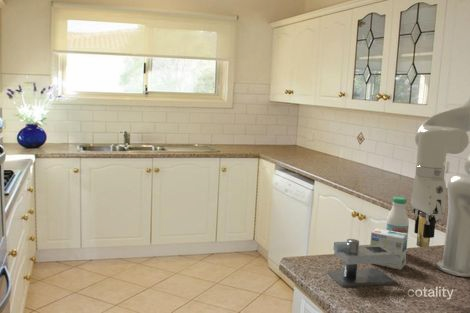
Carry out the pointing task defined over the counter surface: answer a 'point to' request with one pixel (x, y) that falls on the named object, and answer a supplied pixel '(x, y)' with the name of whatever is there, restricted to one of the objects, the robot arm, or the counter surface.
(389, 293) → the counter surface
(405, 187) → the counter surface
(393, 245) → the light bulb box
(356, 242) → the grey metal stand
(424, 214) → the pin
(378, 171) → the counter surface
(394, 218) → the milk bottle
